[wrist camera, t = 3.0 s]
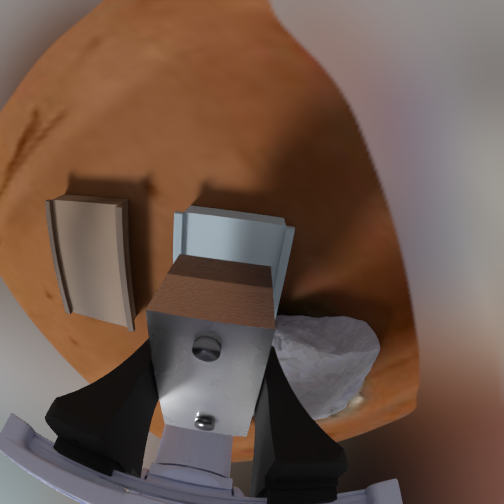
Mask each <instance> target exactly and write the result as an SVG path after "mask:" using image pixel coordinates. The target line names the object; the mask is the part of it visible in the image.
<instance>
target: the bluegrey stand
mask: <svg viewBox="0 0 504 504" xmlns="http://www.w3.org/2000/svg"><path fill="white" fill-rule="evenodd" d="M294 232H295V228H294V227H291V226H286V224H285V220H284V218H281V217H274V216H268V215H261V214H254V213H246V212H239V211H231V210H223V209H216V208H207V207H199V206H189V208H188V209H187V210H186V211H185V212H179V211H176V212H175V213H174V235H173V264H174V262H175V260H176V259H177V257H178V256H179V254H184V255H191V256H198V257H206V258H213V259H220V260H228V261H235V262H242V263H250V264H257V265H265V266H271V273H272V286H273V300H274V314H275V318H276V314H277V310H278V306H279V301H280V297H281V293H282V288H283V284H284V279H285V275H286V270H287V266H288V261H289V256H290V251H291V247H292V242H293V237H294Z"/></svg>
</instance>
